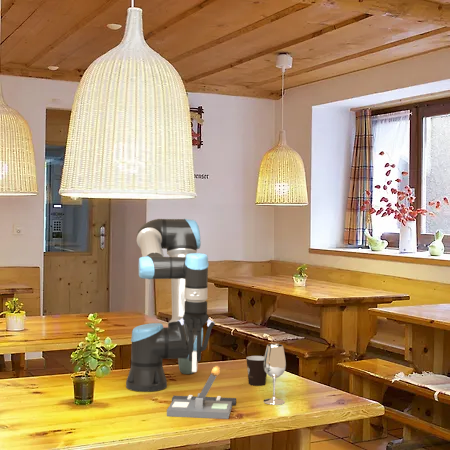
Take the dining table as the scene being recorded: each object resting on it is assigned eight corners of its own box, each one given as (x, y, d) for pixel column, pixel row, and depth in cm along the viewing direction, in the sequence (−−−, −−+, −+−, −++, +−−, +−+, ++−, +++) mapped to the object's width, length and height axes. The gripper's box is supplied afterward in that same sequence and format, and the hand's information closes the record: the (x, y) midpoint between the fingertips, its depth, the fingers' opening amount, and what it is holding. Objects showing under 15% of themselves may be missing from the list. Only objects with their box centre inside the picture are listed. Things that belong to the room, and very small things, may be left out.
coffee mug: (266, 387, 284) (267, 361, 284) (244, 385, 286) (244, 359, 286) (270, 380, 296) (271, 355, 295) (249, 379, 297) (249, 353, 297)
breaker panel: (166, 416, 243) (167, 400, 243) (173, 404, 257) (173, 389, 257) (228, 418, 242) (228, 402, 242) (231, 407, 256) (232, 392, 255)
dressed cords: (171, 403, 259) (171, 397, 259) (173, 399, 264) (173, 394, 264) (235, 406, 257) (235, 400, 257) (236, 402, 262) (236, 396, 262)
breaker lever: (195, 401, 248) (213, 366, 247) (196, 398, 252) (215, 364, 251) (202, 405, 247) (220, 370, 247) (203, 401, 251) (221, 368, 250)
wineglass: (289, 402, 264) (290, 345, 263) (275, 406, 258) (277, 348, 257) (272, 398, 269) (273, 342, 268) (258, 402, 263) (259, 345, 262)
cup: (195, 376, 301) (195, 351, 301) (176, 374, 302) (176, 350, 302) (198, 371, 309) (199, 347, 308) (180, 370, 310) (180, 346, 310)
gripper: (174, 301, 246) (173, 372, 247) (214, 302, 244) (212, 374, 246) (178, 298, 253) (177, 367, 254) (216, 299, 252) (215, 369, 253)
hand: (194, 370), depth 250 cm, fingers closed
